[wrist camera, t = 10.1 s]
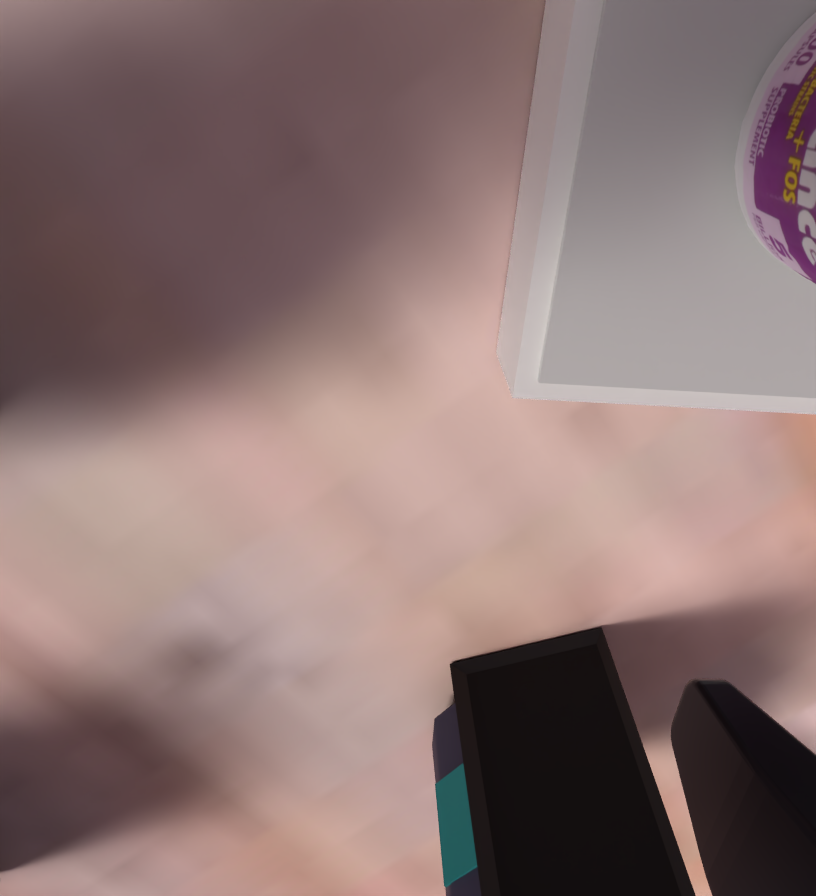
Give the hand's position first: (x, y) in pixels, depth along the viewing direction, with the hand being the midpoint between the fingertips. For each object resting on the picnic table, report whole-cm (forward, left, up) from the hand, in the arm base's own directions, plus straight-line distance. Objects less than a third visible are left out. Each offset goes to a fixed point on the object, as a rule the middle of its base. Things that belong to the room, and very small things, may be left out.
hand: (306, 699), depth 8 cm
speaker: (+7, -14, -12) cm, 20 cm away
